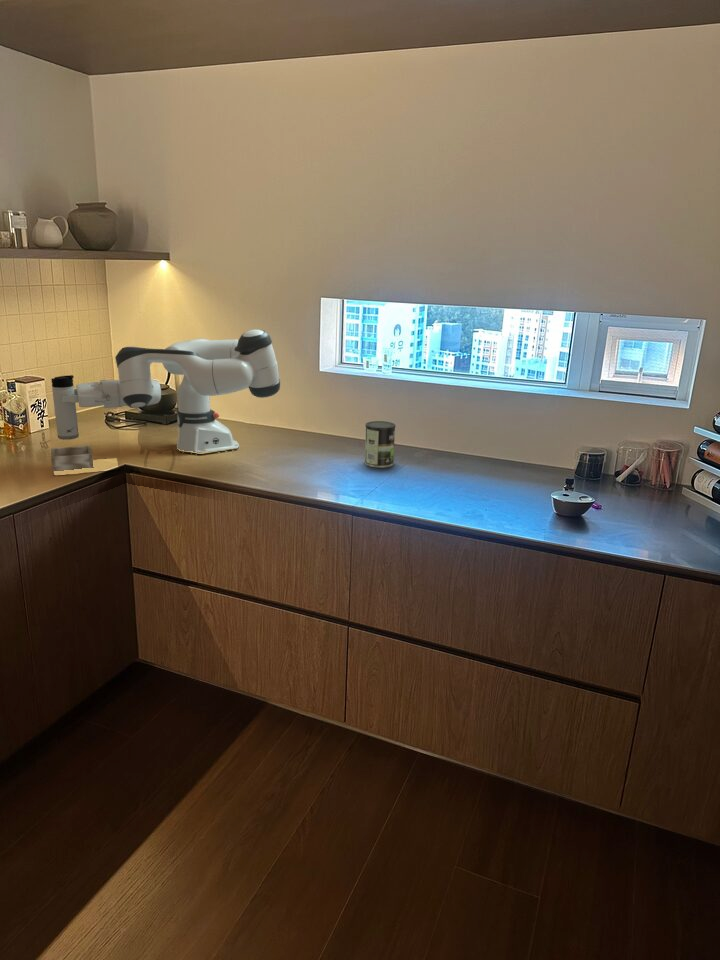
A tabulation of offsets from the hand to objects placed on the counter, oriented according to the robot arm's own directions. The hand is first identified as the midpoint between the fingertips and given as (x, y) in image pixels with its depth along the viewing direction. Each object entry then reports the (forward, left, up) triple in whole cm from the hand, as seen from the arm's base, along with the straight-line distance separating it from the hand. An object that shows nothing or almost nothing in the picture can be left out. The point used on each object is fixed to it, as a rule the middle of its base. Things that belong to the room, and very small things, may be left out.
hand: (61, 396), depth 212 cm
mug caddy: (-5, 0, -24) cm, 25 cm away
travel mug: (-1, 0, -14) cm, 14 cm away
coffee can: (-99, +26, -24) cm, 105 cm away
